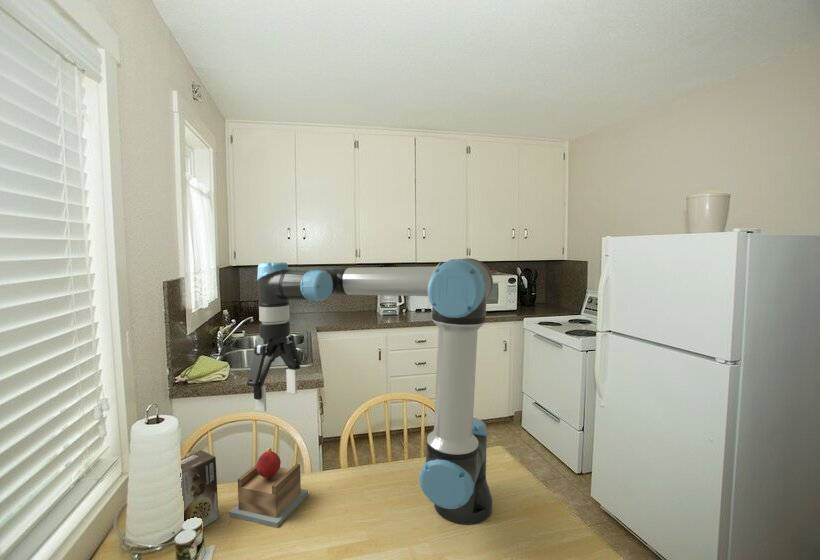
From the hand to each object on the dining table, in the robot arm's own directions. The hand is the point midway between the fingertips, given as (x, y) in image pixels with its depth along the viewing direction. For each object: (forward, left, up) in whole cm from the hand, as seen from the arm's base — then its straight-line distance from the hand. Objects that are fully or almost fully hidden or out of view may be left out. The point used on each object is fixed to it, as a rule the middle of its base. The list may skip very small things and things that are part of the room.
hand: (277, 401), depth 108 cm
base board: (0, +3, -27) cm, 27 cm away
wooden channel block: (0, +3, -25) cm, 26 cm away
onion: (+1, +3, -20) cm, 20 cm away
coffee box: (+13, +15, -27) cm, 34 cm away
